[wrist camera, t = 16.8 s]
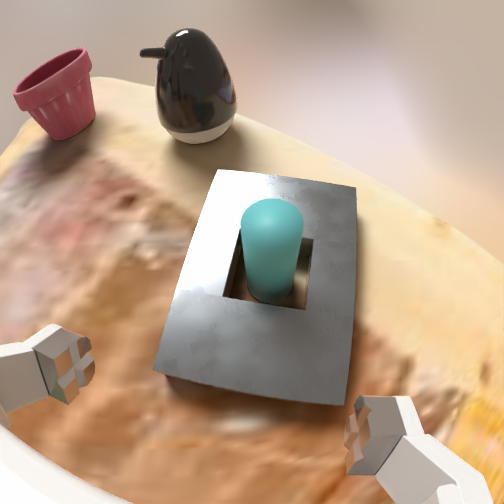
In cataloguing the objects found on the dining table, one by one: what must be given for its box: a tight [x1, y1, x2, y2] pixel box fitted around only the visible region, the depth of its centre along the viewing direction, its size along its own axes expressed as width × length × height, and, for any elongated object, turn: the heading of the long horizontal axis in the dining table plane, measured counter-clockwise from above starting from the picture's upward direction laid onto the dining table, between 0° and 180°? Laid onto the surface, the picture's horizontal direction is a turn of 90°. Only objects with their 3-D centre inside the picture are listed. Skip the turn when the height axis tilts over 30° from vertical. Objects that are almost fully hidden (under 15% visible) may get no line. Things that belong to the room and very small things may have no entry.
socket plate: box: [153, 169, 357, 406], centre depth 25 cm, size 14×20×3 cm
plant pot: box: [13, 48, 95, 141], centre depth 37 cm, size 14×14×13 cm
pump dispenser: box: [140, 28, 237, 144], centre depth 31 cm, size 10×10×15 cm
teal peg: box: [240, 198, 304, 303], centre depth 23 cm, size 4×4×9 cm
